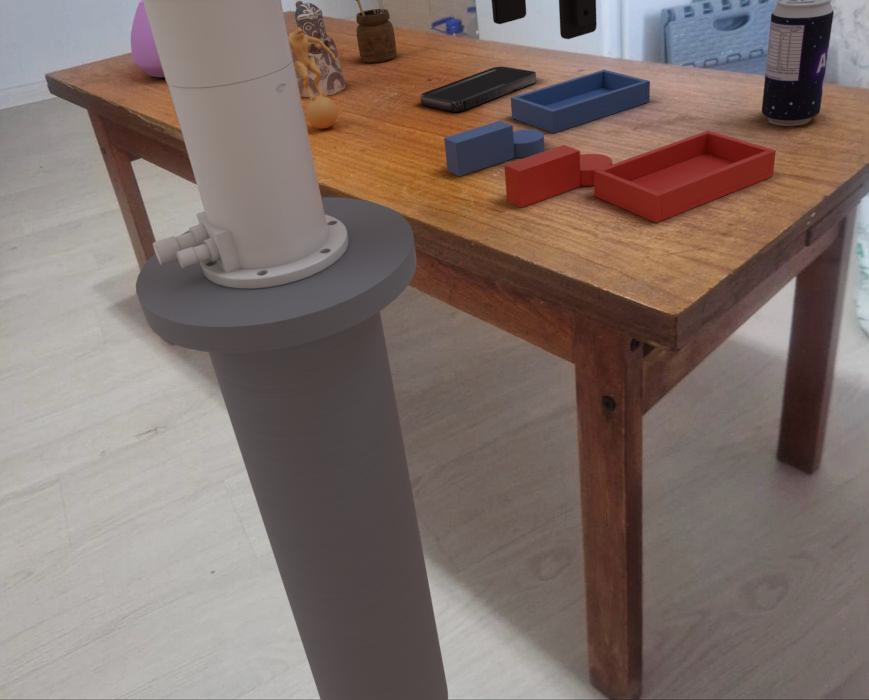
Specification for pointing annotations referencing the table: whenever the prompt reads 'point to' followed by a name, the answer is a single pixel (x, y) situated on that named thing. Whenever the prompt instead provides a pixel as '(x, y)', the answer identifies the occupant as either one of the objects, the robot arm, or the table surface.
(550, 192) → the red block with disc
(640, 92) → the blue tray
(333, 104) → the figurine
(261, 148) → the robot arm
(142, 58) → the teapot
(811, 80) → the beverage can
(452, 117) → the table surface
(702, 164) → the red tray
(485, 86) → the phone
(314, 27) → the figurine
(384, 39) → the utensil holder
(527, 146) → the blue block with disc
